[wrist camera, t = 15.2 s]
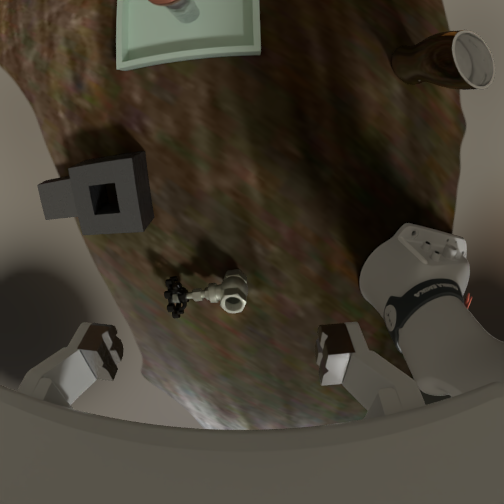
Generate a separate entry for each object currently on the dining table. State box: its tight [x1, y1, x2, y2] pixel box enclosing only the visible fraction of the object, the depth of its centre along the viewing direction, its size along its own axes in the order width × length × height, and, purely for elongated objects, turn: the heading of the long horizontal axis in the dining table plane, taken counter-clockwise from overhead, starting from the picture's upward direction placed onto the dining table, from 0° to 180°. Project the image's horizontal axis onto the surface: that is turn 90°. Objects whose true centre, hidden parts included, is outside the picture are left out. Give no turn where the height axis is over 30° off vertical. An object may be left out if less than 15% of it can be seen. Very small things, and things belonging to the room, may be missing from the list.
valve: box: [164, 269, 248, 318], centre depth 44 cm, size 7×7×12 cm
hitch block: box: [38, 151, 154, 235], centre depth 37 cm, size 19×10×5 cm, turn 92°
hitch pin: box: [148, 0, 200, 23], centre depth 22 cm, size 4×4×11 cm
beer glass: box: [391, 30, 495, 90], centre depth 24 cm, size 7×7×15 cm
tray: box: [116, 0, 261, 71], centre depth 27 cm, size 18×14×3 cm
